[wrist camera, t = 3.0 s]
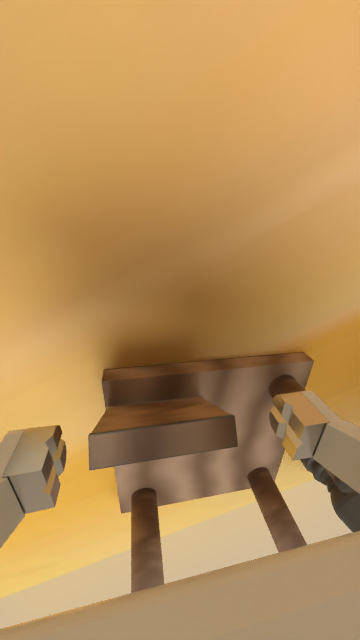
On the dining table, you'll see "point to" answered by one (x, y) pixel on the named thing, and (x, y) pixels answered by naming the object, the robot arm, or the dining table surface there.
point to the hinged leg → (159, 431)
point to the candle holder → (337, 495)
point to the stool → (213, 466)
